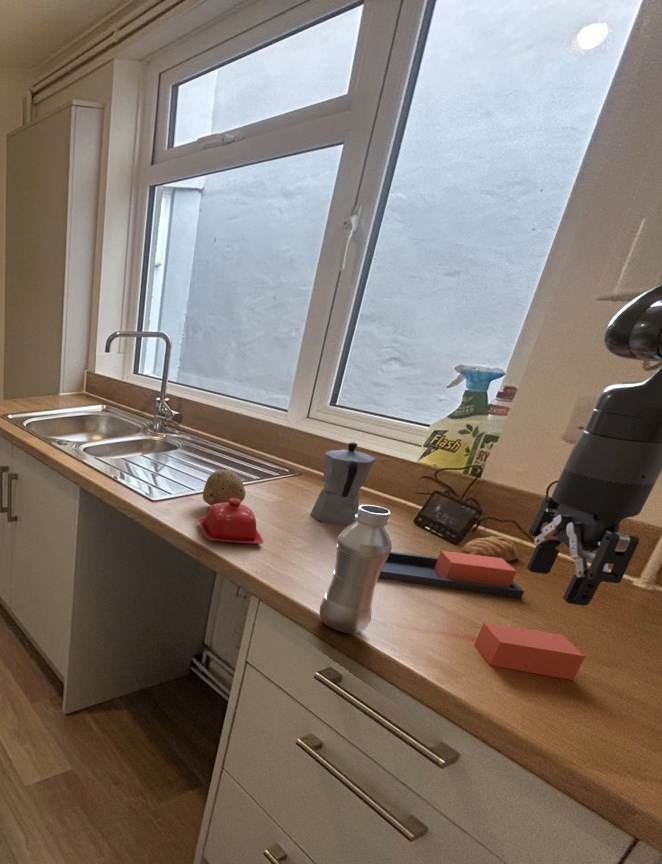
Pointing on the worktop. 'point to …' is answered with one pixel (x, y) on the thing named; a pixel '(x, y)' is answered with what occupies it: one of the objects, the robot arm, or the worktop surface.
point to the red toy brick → (529, 651)
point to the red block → (474, 569)
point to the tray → (437, 576)
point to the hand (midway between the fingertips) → (554, 586)
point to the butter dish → (231, 523)
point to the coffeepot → (342, 485)
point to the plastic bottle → (357, 571)
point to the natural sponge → (223, 487)
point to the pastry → (491, 548)
